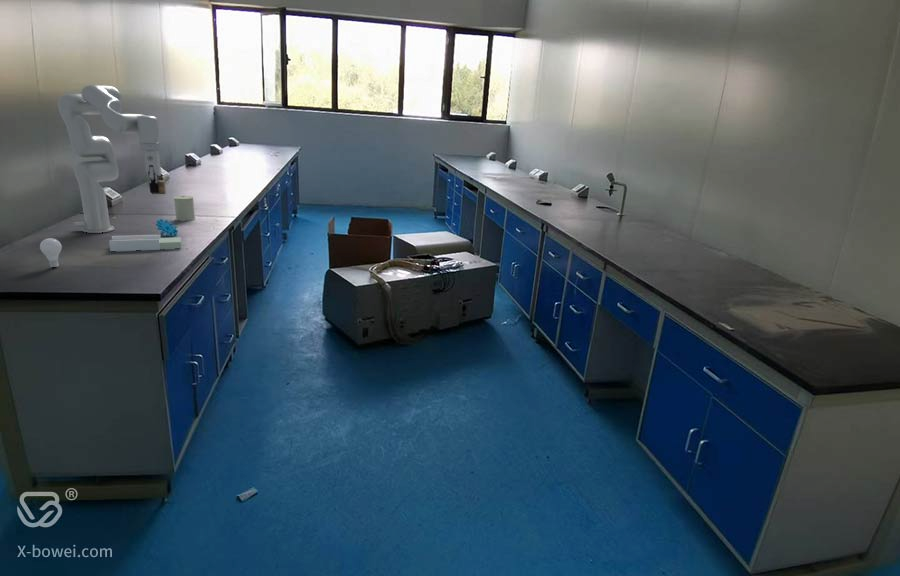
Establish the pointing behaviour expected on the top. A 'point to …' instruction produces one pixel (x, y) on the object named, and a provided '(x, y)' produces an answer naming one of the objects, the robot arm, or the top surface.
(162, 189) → the block
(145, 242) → the trough
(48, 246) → the lightbulb
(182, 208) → the can
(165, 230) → the gear
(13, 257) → the top surface
